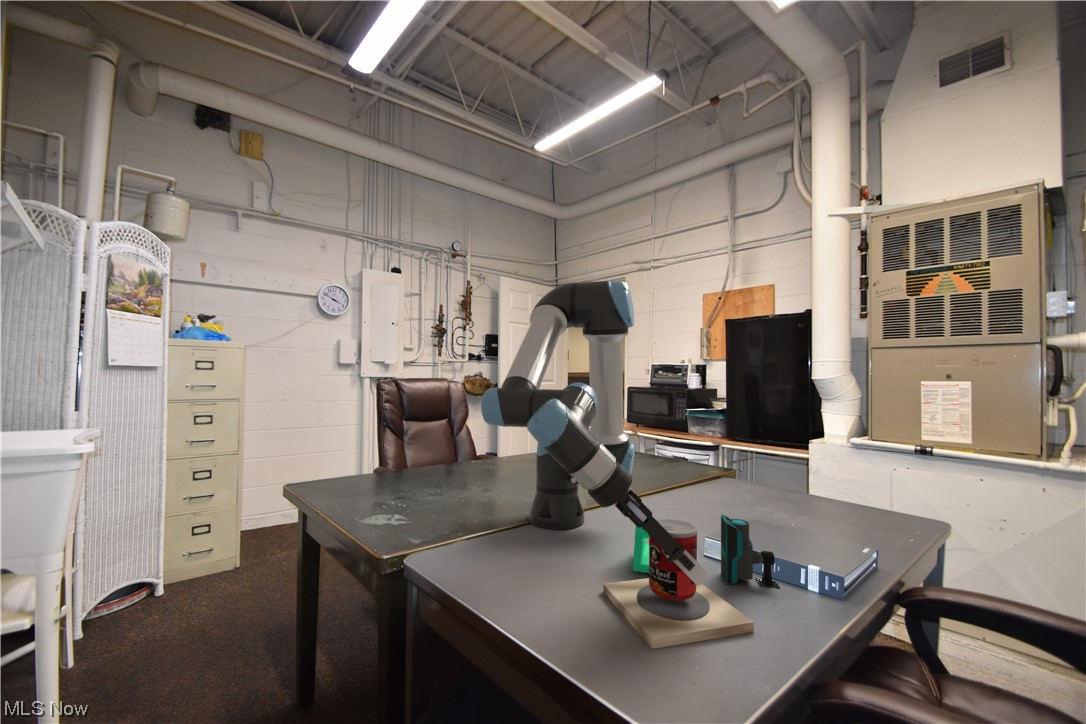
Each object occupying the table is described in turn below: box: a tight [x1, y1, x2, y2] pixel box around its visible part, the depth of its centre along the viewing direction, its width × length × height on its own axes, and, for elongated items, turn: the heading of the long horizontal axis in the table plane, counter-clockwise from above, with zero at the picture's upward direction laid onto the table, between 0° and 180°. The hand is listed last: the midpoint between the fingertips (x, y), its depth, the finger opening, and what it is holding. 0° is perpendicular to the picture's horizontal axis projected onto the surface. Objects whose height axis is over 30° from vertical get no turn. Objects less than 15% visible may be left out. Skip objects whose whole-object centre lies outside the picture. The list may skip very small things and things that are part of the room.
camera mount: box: [632, 525, 649, 574], centre depth 96 cm, size 12×8×10 cm, turn 162°
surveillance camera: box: [720, 514, 781, 589], centre depth 90 cm, size 6×12×10 cm
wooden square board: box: [602, 577, 755, 650], centre depth 78 cm, size 18×18×2 cm
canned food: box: [648, 518, 698, 600], centre depth 78 cm, size 8×8×11 cm
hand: (691, 568), depth 78 cm, fingers closed on canned food, 8 cm apart
